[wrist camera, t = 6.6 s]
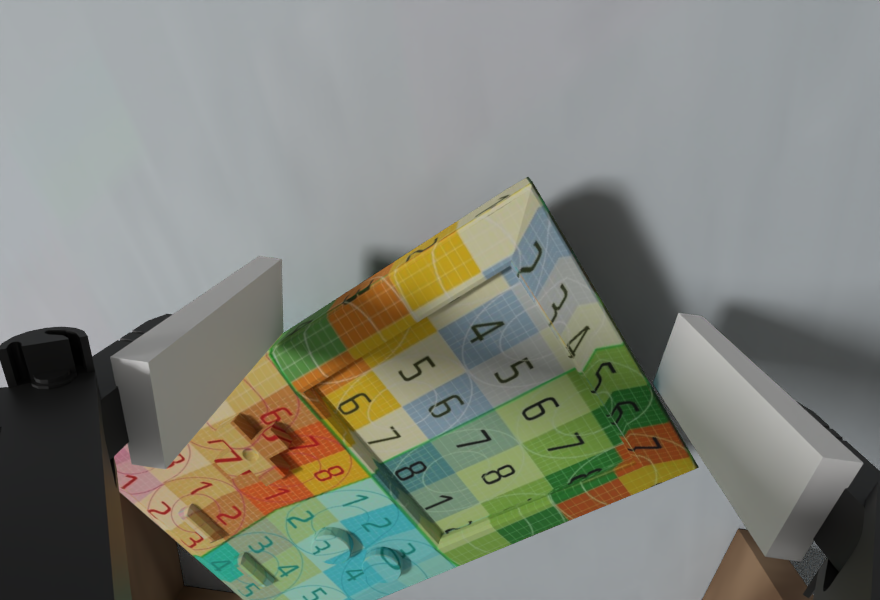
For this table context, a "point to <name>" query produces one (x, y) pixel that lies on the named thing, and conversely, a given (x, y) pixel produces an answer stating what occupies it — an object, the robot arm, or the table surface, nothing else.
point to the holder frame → (164, 596)
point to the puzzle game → (419, 422)
